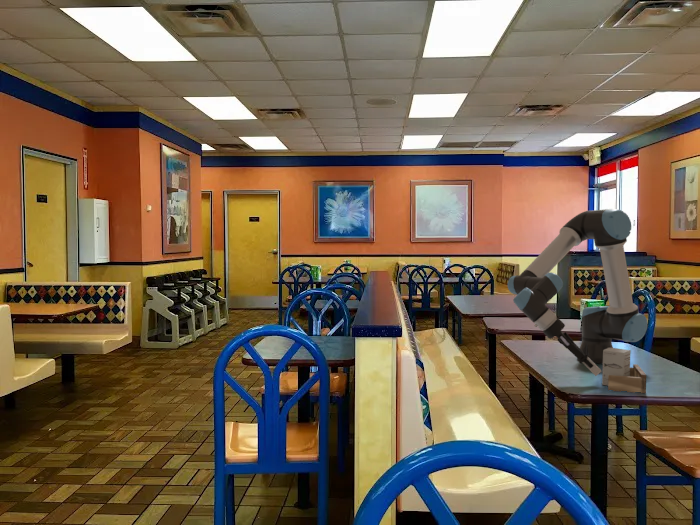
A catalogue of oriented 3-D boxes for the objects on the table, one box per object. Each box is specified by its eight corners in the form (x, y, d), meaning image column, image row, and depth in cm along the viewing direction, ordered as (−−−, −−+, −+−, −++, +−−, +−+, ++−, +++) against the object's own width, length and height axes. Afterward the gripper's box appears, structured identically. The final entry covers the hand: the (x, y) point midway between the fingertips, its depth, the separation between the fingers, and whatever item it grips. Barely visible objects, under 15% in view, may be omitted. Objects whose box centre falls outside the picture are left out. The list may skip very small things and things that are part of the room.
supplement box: (601, 385, 204) (602, 349, 204) (608, 381, 210) (609, 346, 209) (623, 388, 199) (624, 352, 199) (630, 384, 205) (631, 349, 204)
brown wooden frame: (603, 379, 213) (603, 362, 213) (637, 381, 210) (637, 364, 209) (608, 390, 197) (608, 372, 197) (645, 393, 194) (646, 374, 193)
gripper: (541, 328, 217) (588, 376, 212) (542, 333, 205) (592, 384, 200) (557, 315, 215) (604, 362, 211) (558, 319, 203) (609, 370, 198)
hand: (598, 373), depth 205 cm, fingers closed
